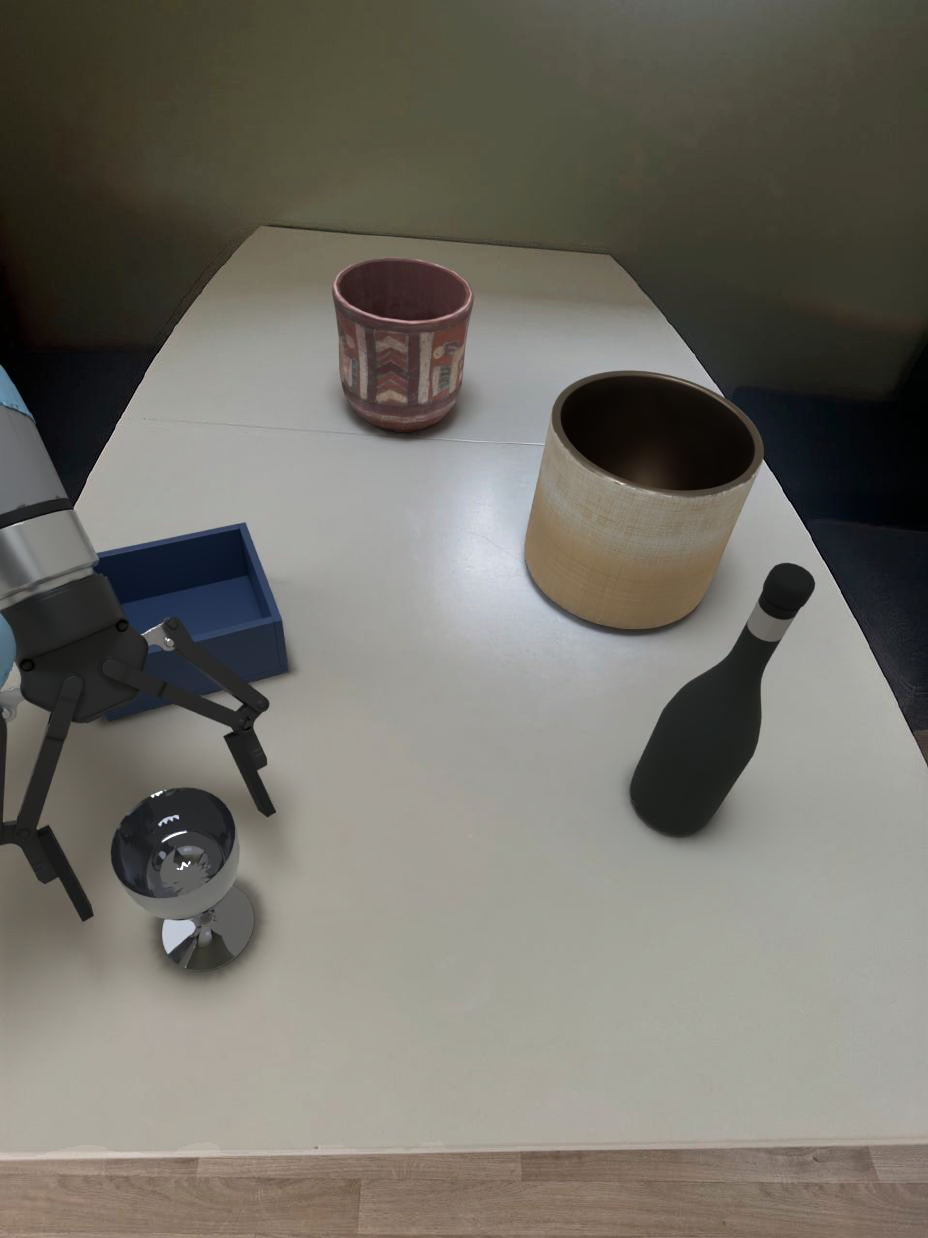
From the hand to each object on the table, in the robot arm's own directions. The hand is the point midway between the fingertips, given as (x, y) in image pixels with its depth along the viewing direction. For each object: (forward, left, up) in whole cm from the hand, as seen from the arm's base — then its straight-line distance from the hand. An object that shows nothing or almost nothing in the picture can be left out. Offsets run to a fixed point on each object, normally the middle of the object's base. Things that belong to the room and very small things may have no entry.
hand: (182, 860), depth 58 cm
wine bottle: (+42, -5, -10) cm, 44 cm away
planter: (+53, +24, -10) cm, 59 cm away
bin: (+4, +29, -9) cm, 30 cm away
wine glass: (0, -1, -10) cm, 10 cm away
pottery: (+40, +62, -10) cm, 74 cm away
